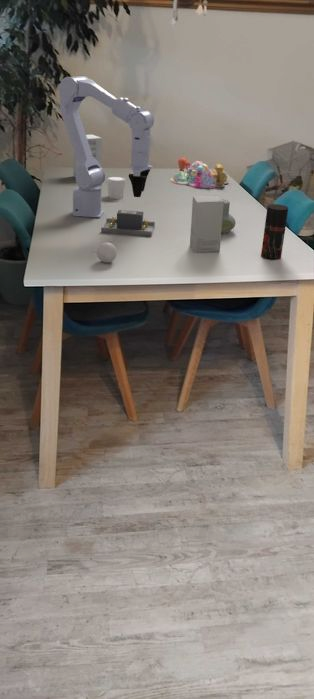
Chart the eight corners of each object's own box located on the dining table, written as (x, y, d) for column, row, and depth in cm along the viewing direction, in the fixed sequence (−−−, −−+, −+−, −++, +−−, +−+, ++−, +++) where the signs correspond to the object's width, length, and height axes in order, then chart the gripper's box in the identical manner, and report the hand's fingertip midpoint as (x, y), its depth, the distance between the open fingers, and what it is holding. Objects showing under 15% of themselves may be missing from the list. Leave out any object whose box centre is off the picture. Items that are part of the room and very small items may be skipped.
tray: (101, 232, 204) (101, 224, 203) (106, 222, 214) (106, 215, 213) (151, 236, 204) (151, 228, 202) (154, 226, 213) (154, 218, 212)
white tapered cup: (128, 198, 244) (128, 179, 241) (112, 200, 241) (113, 181, 237) (118, 193, 249) (119, 175, 246) (103, 195, 246) (103, 177, 242)
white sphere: (115, 258, 184) (116, 239, 181) (117, 265, 179) (117, 246, 176) (88, 258, 183) (89, 239, 180) (89, 265, 178) (89, 246, 175)
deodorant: (280, 261, 189) (288, 210, 182) (260, 258, 190) (267, 208, 183) (281, 254, 194) (288, 205, 187) (261, 252, 195) (268, 203, 188)
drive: (116, 228, 207) (117, 213, 205) (118, 225, 211) (118, 209, 208) (141, 230, 207) (142, 214, 204) (142, 226, 210) (143, 211, 208)
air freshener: (204, 234, 208) (207, 204, 203) (199, 227, 215) (201, 197, 211) (237, 234, 210) (240, 204, 205) (230, 227, 217) (233, 197, 212)
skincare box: (214, 245, 199) (219, 195, 191) (220, 252, 193) (225, 201, 186) (188, 245, 197) (192, 195, 190) (193, 253, 191) (197, 201, 184)
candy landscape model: (226, 178, 285) (229, 156, 280) (230, 191, 264) (232, 168, 259) (170, 174, 285) (171, 153, 280) (169, 187, 264) (171, 164, 260)
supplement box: (102, 179, 268) (102, 138, 260) (82, 181, 264) (82, 138, 256) (92, 174, 275) (92, 134, 268) (72, 176, 271) (72, 134, 263)
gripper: (150, 156, 198) (148, 200, 204) (155, 148, 211) (153, 189, 217) (127, 154, 198) (126, 198, 205) (134, 146, 211) (132, 188, 217)
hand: (138, 193), depth 211 cm, fingers open, 7 cm apart
